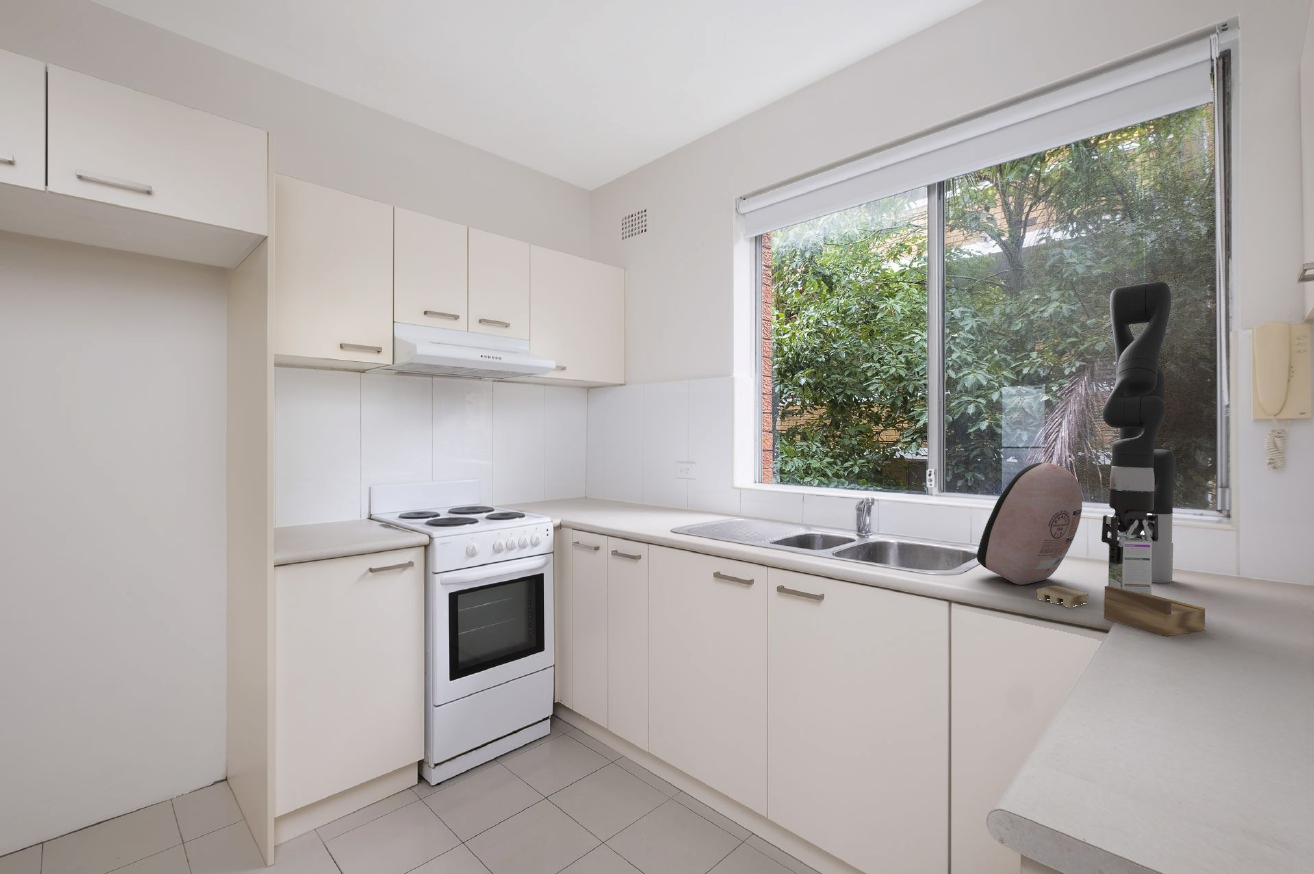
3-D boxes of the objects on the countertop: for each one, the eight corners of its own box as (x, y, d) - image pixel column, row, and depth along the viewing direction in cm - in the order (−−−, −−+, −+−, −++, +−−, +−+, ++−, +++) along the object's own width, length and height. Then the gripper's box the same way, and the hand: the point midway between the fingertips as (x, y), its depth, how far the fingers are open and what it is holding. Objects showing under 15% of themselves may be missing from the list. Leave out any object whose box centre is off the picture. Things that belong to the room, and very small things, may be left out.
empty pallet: (1053, 595, 134) (1053, 585, 134) (1088, 603, 128) (1088, 593, 128) (1036, 599, 130) (1036, 589, 130) (1071, 608, 124) (1071, 597, 124)
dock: (1140, 612, 122) (1141, 582, 122) (1204, 630, 111) (1205, 596, 111) (1103, 617, 118) (1104, 586, 118) (1166, 636, 108) (1167, 601, 108)
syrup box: (1152, 609, 124) (1154, 541, 124) (1120, 607, 125) (1122, 540, 125) (1136, 602, 129) (1138, 536, 129) (1106, 600, 131) (1107, 535, 130)
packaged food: (1013, 568, 160) (1015, 458, 159) (1095, 585, 143) (1098, 463, 142) (964, 578, 149) (967, 460, 148) (1048, 598, 132) (1051, 465, 131)
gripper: (1135, 485, 133) (1133, 557, 133) (1090, 486, 128) (1088, 560, 128) (1173, 489, 126) (1171, 564, 126) (1127, 490, 121) (1125, 568, 121)
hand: (1129, 562), depth 127 cm, fingers open, 8 cm apart
